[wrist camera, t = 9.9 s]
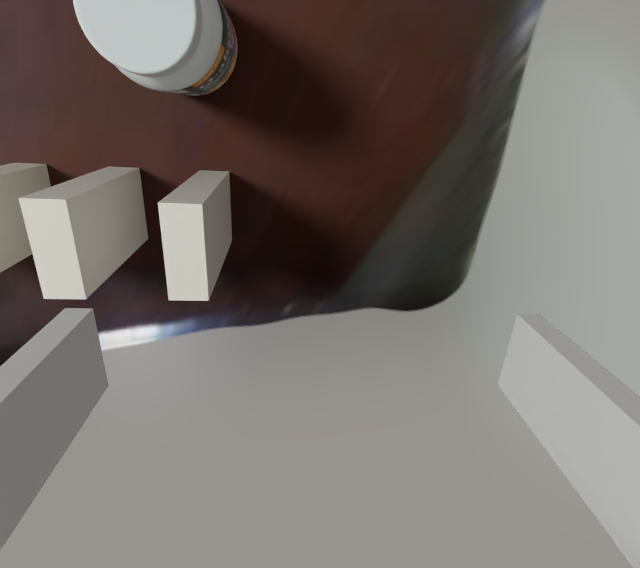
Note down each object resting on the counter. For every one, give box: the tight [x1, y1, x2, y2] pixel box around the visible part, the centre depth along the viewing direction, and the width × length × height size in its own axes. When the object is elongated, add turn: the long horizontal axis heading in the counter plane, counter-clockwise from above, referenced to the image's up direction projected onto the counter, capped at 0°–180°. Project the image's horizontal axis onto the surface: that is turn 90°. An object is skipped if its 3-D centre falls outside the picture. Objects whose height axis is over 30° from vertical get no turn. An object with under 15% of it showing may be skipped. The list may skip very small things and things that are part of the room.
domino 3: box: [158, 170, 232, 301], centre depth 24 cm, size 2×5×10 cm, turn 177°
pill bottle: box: [73, 0, 237, 96], centre depth 20 cm, size 6×6×10 cm
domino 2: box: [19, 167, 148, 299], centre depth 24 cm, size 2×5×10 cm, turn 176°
